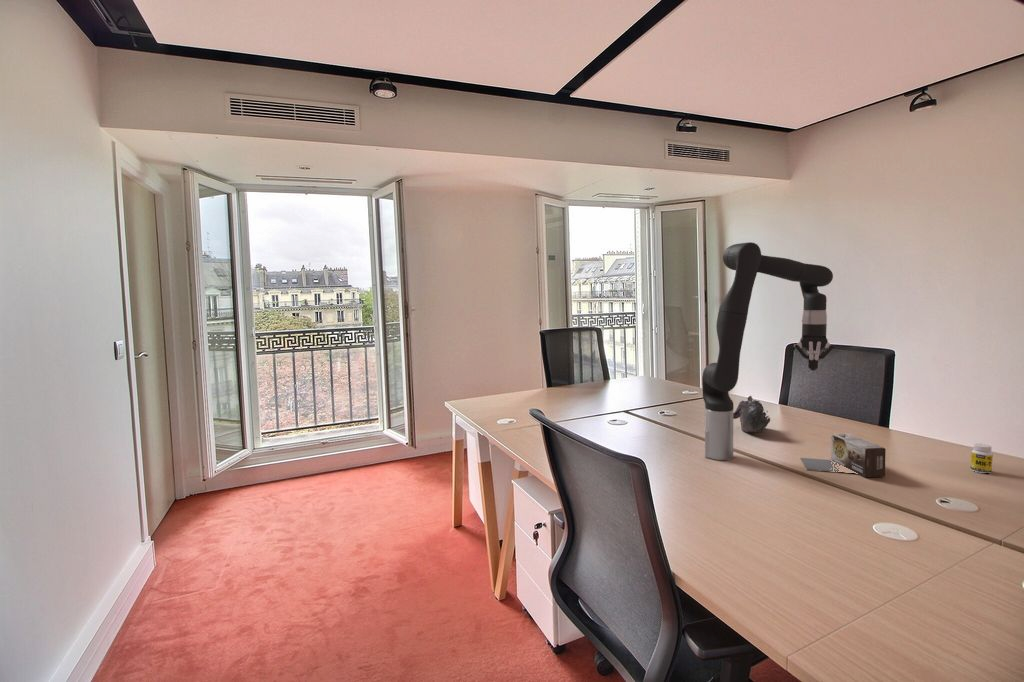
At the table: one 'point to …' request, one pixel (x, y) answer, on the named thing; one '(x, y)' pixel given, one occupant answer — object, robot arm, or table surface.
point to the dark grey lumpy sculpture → (751, 416)
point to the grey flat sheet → (819, 464)
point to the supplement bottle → (981, 458)
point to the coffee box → (858, 455)
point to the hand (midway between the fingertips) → (812, 370)
